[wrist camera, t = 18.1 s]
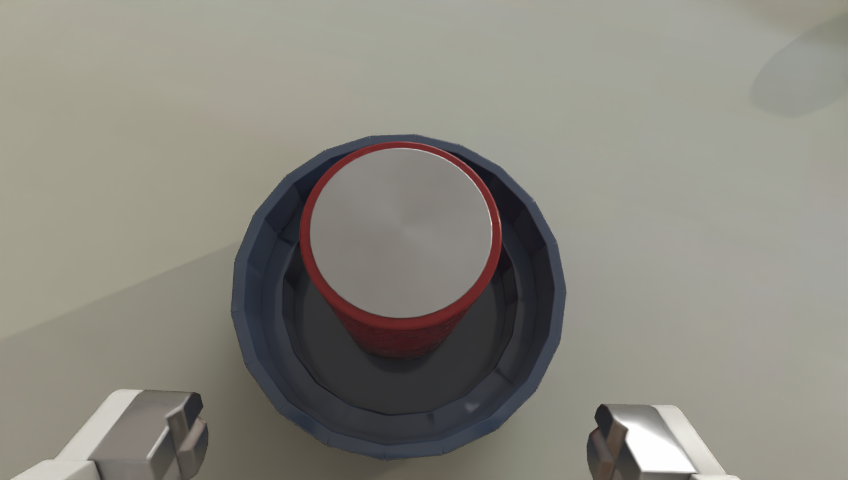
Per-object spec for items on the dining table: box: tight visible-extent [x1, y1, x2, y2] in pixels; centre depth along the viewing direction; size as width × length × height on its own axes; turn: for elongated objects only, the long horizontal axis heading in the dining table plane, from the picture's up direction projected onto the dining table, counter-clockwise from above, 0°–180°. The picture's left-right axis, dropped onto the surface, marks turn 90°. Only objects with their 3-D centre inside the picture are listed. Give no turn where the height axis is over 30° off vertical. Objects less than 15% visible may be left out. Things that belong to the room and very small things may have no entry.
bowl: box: [231, 134, 566, 461], centre depth 20 cm, size 13×13×5 cm
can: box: [299, 141, 502, 361], centre depth 17 cm, size 6×6×10 cm
